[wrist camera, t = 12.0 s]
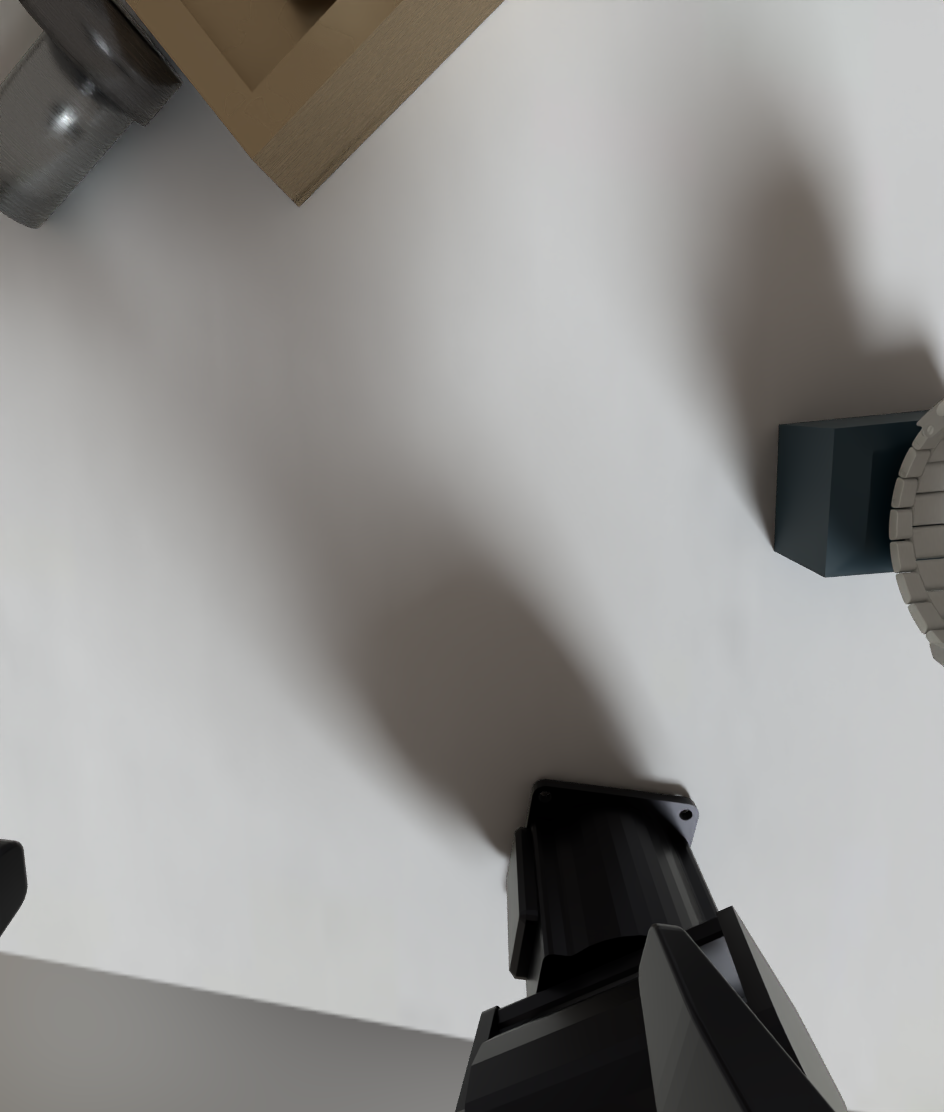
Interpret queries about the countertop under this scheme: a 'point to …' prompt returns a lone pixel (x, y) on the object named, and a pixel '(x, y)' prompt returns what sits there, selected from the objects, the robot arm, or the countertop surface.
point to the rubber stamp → (868, 504)
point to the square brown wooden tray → (308, 69)
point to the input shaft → (73, 100)
